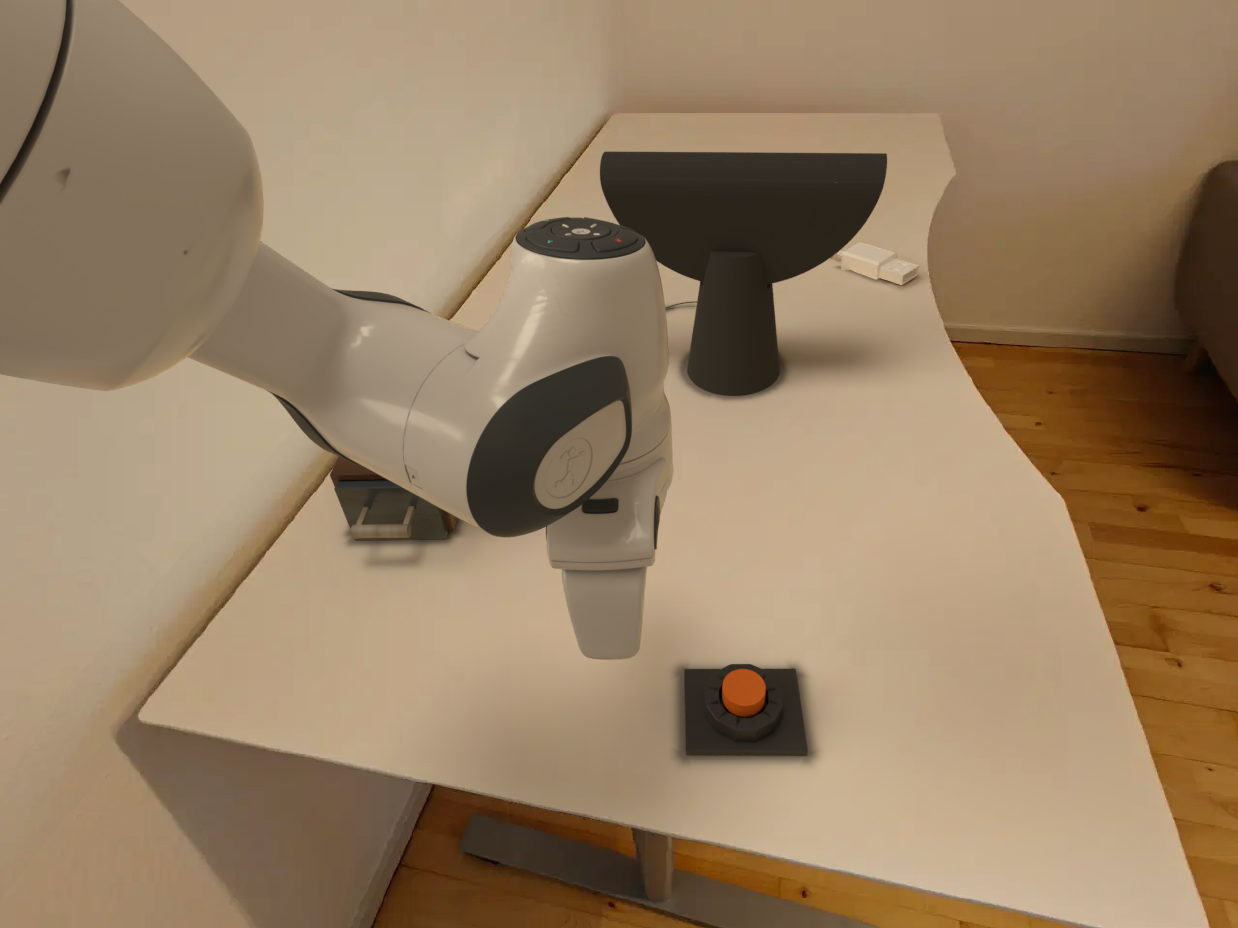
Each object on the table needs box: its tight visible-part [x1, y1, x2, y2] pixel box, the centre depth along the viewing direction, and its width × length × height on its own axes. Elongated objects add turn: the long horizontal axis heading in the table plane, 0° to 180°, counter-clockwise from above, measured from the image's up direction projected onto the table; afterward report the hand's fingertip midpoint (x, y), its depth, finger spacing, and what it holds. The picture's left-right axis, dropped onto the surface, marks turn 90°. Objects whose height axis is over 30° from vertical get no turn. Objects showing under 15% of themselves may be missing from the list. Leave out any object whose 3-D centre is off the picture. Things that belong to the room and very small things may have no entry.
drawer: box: [334, 479, 449, 541], centre depth 90 cm, size 18×10×8 cm, turn 177°
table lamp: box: [599, 151, 888, 397], centre depth 104 cm, size 40×28×30 cm
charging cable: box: [835, 241, 920, 286], centre depth 134 cm, size 5×32×3 cm, turn 41°
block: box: [683, 663, 808, 757], centre depth 70 cm, size 8×10×4 cm
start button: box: [722, 669, 766, 717], centre depth 69 cm, size 4×4×2 cm
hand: (621, 591), depth 62 cm, fingers closed
